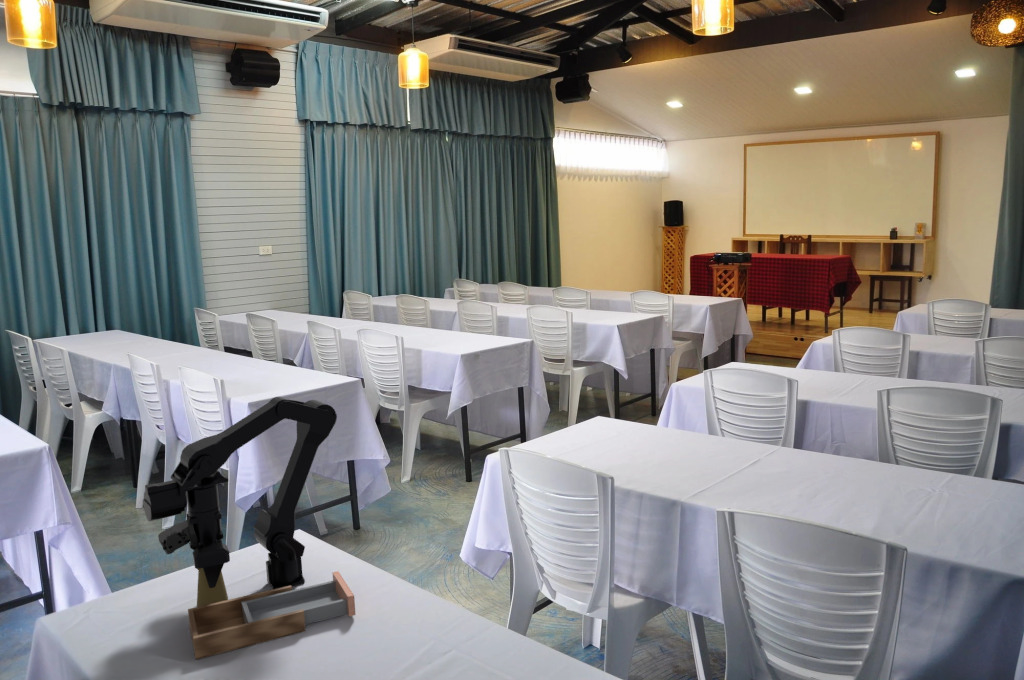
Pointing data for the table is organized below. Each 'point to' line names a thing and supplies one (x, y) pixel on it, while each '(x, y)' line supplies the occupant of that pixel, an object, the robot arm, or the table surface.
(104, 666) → the table surface
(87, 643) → the table surface
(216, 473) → the robot arm
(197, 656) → the brown wooden box
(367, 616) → the table surface
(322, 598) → the tray
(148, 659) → the table surface
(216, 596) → the olive pawn figure
